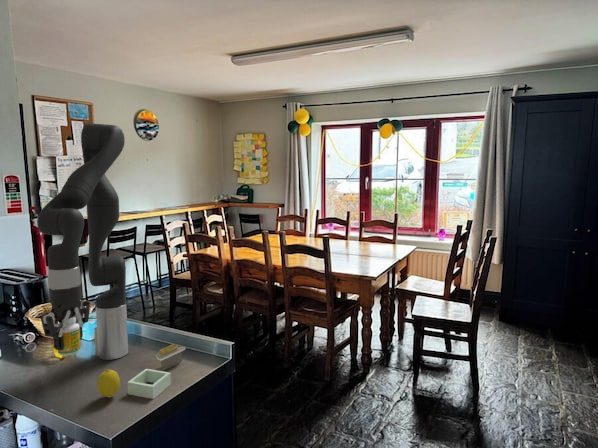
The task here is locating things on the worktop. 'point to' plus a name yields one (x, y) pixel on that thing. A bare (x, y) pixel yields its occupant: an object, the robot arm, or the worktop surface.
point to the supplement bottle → (71, 338)
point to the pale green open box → (147, 390)
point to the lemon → (108, 383)
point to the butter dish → (170, 356)
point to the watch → (56, 352)
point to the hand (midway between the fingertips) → (68, 344)
